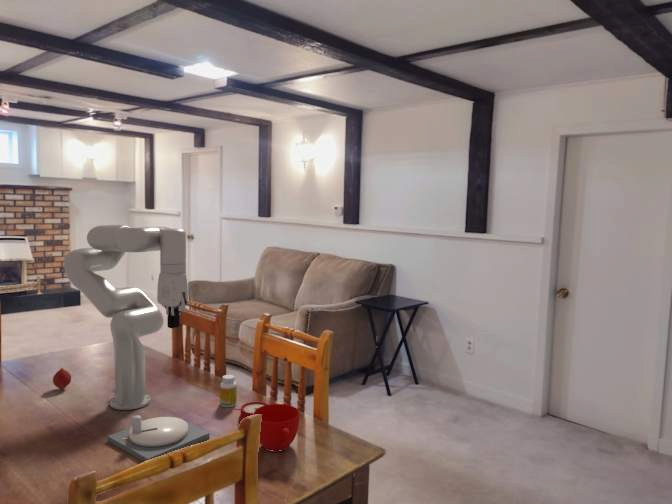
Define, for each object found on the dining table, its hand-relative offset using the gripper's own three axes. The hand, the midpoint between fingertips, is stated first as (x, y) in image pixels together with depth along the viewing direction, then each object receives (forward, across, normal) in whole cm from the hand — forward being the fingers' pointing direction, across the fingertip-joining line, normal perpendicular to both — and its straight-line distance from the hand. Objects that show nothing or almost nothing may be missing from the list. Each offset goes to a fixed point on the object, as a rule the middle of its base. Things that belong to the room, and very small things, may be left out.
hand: (173, 327), depth 164 cm
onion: (+29, -49, -12) cm, 58 cm away
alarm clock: (+30, +22, +16) cm, 40 cm away
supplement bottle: (+29, +5, +18) cm, 35 cm away
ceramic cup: (+29, +40, +6) cm, 50 cm away
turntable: (+27, +10, -12) cm, 31 cm away
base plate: (+29, +10, -12) cm, 33 cm away
